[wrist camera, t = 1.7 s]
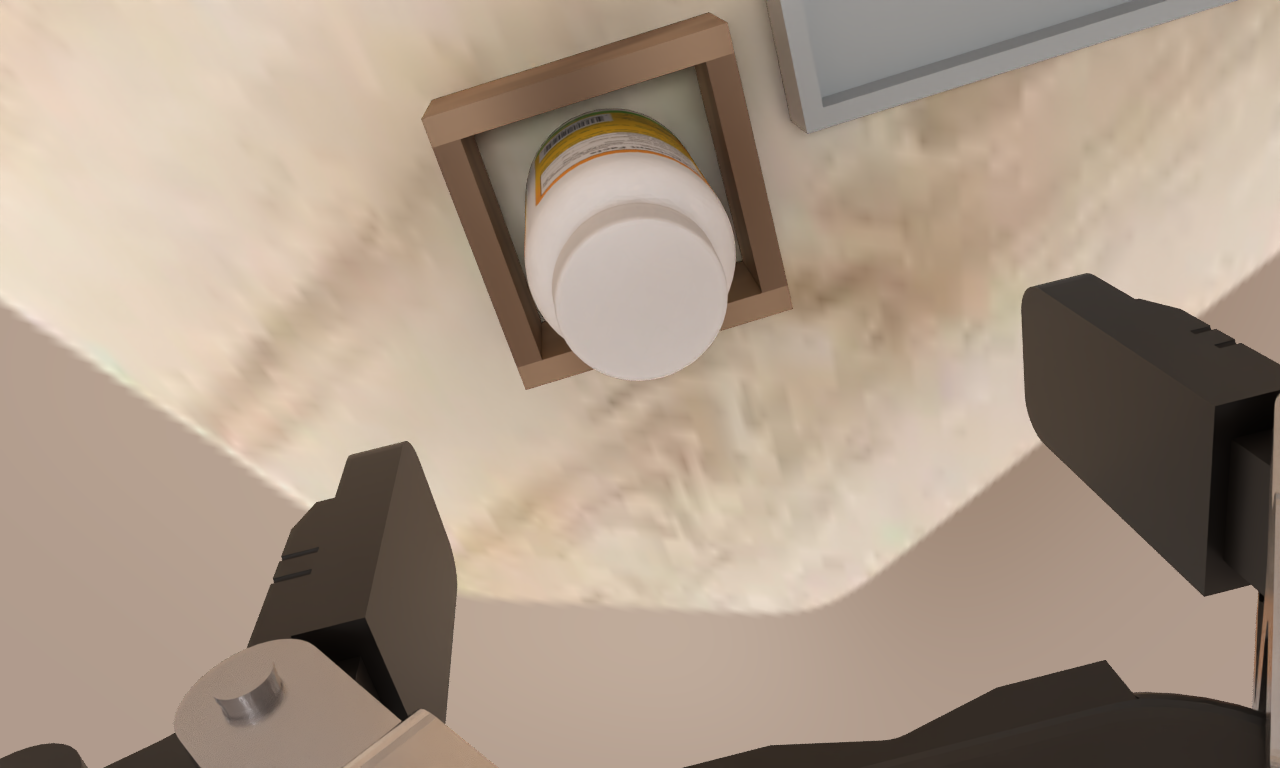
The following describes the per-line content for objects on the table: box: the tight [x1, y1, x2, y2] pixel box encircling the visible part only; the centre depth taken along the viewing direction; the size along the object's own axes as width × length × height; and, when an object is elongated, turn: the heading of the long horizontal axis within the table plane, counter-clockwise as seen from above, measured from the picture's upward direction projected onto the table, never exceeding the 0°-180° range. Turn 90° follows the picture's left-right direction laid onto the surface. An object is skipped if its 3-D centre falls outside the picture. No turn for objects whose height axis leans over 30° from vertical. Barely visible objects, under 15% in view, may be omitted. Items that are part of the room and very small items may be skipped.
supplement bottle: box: [524, 109, 736, 381], centre depth 26 cm, size 5×5×10 cm
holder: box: [421, 13, 793, 390], centre depth 29 cm, size 9×9×3 cm
